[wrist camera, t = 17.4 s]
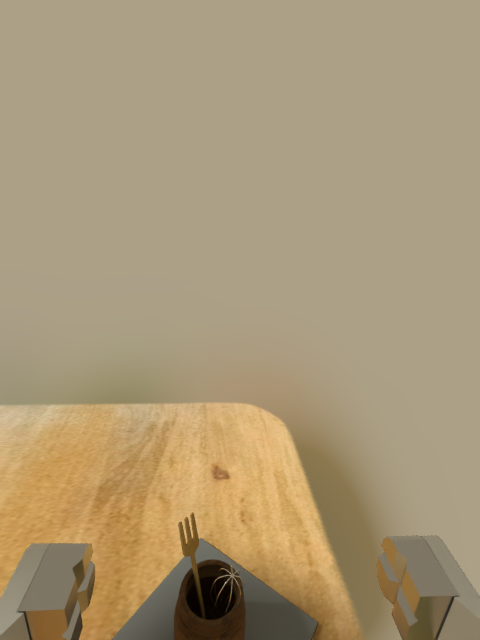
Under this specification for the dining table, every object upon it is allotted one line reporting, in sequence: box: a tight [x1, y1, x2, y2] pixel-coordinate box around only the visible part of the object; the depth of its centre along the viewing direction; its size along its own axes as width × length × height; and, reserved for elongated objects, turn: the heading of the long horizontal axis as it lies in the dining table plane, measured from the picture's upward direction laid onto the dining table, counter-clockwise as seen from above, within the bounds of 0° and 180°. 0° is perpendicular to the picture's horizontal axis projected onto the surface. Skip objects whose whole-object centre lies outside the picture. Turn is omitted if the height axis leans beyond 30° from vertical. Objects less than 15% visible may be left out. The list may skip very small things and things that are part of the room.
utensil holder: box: [174, 513, 246, 640], centre depth 29 cm, size 6×6×12 cm
